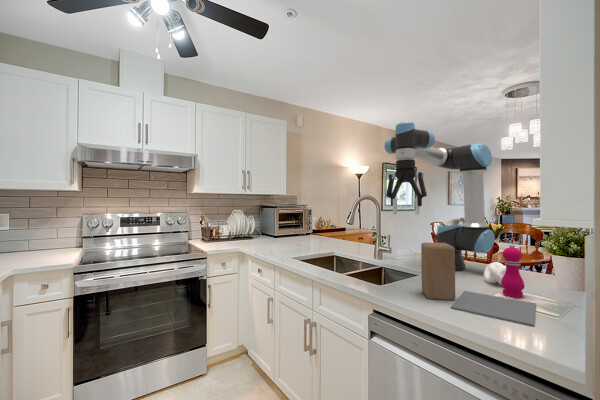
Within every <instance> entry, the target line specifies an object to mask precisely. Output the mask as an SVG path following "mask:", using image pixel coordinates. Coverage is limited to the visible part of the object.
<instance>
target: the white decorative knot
mask: <svg viewBox="0 0 600 400" xmlns="http://www.w3.org/2000/svg"><path fill="white" fill-rule="evenodd" d="M505 272H506V264H505V265H504V264H502V263H501V262H500V261H499V262H498V261H495V262H491V263H489V264H488V265H487V266H486V267H485V269H484V271H483V279H484V281H485V282H486V283H488V284H493V285H494V284H496V283H498V284H499V285H501V280H502V278H503V276H504V274H505ZM501 286H502V285H501Z"/></svg>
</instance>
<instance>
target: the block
mask: <svg viewBox="0 0 600 400" xmlns="http://www.w3.org/2000/svg"><path fill="white" fill-rule="evenodd" d="M420 250H421V253H420V258H421V265H420V266H421V291H422V293H423V294H424V295H425V296H426V298H427V299H429V300H430V299H431V300H447V301H453V300H455V301H456V271H455V248H454V247H453V246H451V245H449V244H447V243H437V242H421V245H420Z"/></svg>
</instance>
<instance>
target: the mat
mask: <svg viewBox="0 0 600 400" xmlns="http://www.w3.org/2000/svg"><path fill="white" fill-rule="evenodd" d="M536 307H537V303H536V302H530V301H523V300H520V299H515V298H509V297H508V298H507V297H502V296H497V295H491V294H484V293H479V292H474V291H468V290H464V291H462V293H461V294H460V295H459V296H458V297H457V299H455V301H454V302H453V303H452V304H451V306H450V309H452V310H456V311H460V312H465V313H470V314H474V315H479V316H484V317H488V318H491V319H492V318H493V319H497V320H501V321H506V322H511V323H514V324H519V325H520V324H521V325H524V326H529V327H534V328H535V322H536V312H535V311H537V310H536V309H537V308H536Z"/></svg>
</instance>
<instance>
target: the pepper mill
mask: <svg viewBox="0 0 600 400" xmlns="http://www.w3.org/2000/svg"><path fill="white" fill-rule="evenodd" d="M508 246H509V247H507V248H504V249H503V251H502V257H503V259H504V264H505V265H506V272H505V274H504V276H503V278H502V280H501V286H502V288H503V289H502V295H503V296H505V297H507V296H509V297H508V298H511V297H514V298H513V299H522V298H521V297H524V292H523V290H524V289H525V282H524V280H523V278H522V276H521V274H520V266H521V261H520V260H521V259H522V258H523V253H522V251H521V250H519V248H516V245H515V244H514V243H509V245H508Z"/></svg>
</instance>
